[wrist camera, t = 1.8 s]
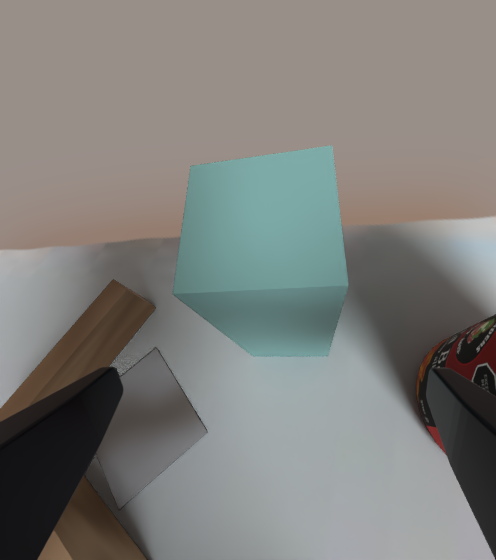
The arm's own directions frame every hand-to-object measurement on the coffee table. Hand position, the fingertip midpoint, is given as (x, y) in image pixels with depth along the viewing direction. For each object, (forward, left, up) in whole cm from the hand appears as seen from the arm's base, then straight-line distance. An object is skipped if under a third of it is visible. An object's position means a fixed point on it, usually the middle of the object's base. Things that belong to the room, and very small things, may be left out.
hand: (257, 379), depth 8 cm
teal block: (+3, -4, -11) cm, 12 cm away
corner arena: (+7, +8, -11) cm, 15 cm away
